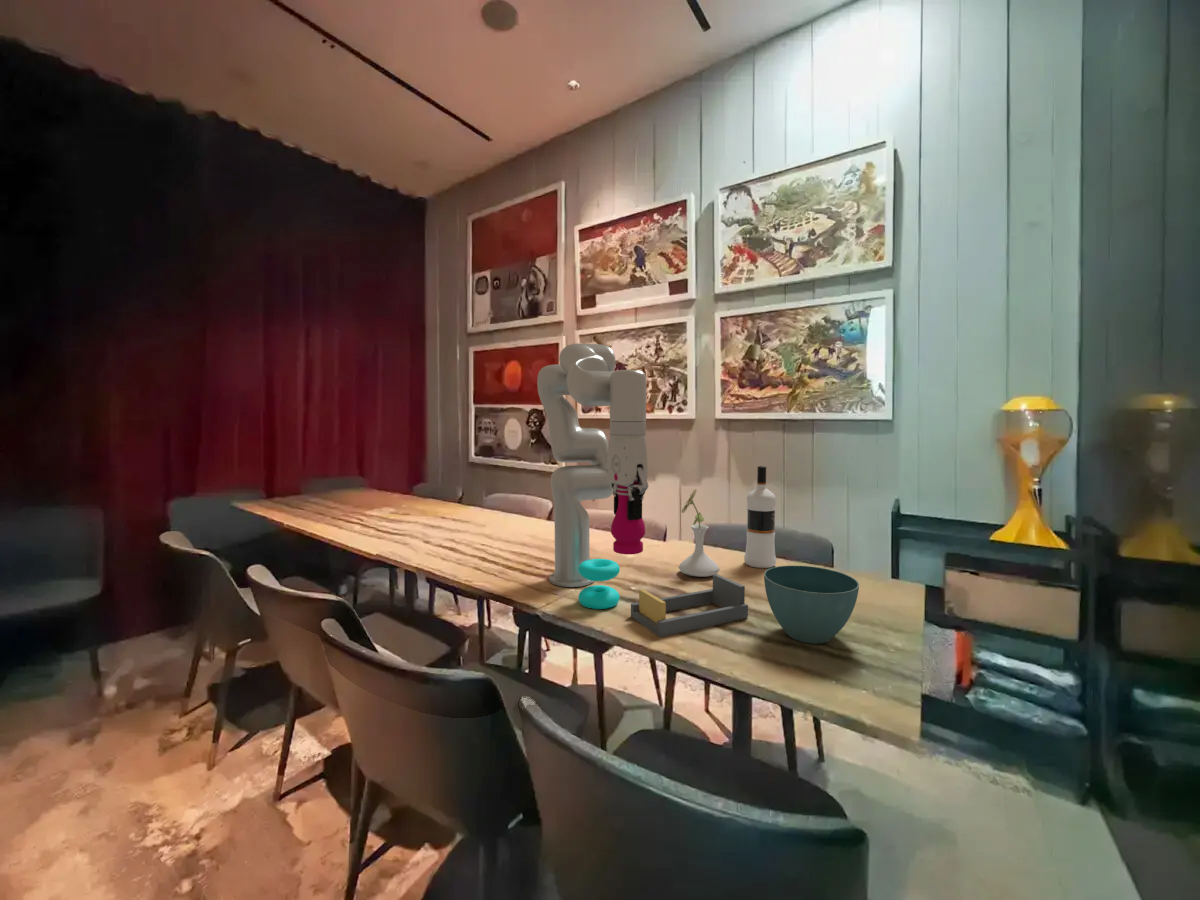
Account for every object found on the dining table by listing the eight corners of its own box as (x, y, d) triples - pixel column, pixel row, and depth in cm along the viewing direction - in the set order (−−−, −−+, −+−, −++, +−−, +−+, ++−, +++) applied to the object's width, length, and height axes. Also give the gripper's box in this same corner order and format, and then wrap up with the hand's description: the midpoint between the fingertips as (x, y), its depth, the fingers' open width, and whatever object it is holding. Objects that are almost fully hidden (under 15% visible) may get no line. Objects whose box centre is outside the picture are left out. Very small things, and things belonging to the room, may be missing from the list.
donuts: (615, 556, 136) (623, 568, 126) (615, 595, 137) (623, 609, 127) (576, 558, 134) (580, 570, 124) (576, 597, 135) (581, 612, 125)
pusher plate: (639, 615, 122) (639, 589, 121) (642, 614, 122) (643, 588, 122) (661, 630, 113) (661, 603, 113) (665, 630, 114) (665, 602, 113)
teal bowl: (846, 622, 119) (847, 567, 118) (867, 659, 101) (869, 595, 100) (760, 615, 123) (761, 562, 122) (766, 650, 105) (767, 588, 104)
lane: (630, 616, 122) (630, 586, 122) (713, 600, 132) (713, 572, 132) (660, 637, 111) (660, 604, 111) (747, 618, 121) (748, 587, 121)
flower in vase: (689, 566, 162) (690, 483, 160) (725, 572, 155) (727, 486, 153) (668, 577, 151) (669, 488, 149) (706, 584, 145) (707, 492, 143)
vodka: (740, 560, 168) (742, 464, 166) (770, 560, 168) (772, 464, 166) (749, 569, 159) (751, 467, 156) (780, 569, 159) (783, 467, 157)
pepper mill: (635, 557, 109) (635, 458, 107) (604, 552, 113) (604, 456, 111) (651, 549, 115) (651, 455, 113) (621, 544, 119) (621, 454, 117)
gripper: (593, 429, 118) (594, 511, 119) (632, 432, 103) (631, 526, 104) (624, 428, 121) (624, 508, 122) (665, 431, 106) (664, 522, 107)
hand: (627, 515), depth 113 cm, fingers closed on pepper mill, 5 cm apart
